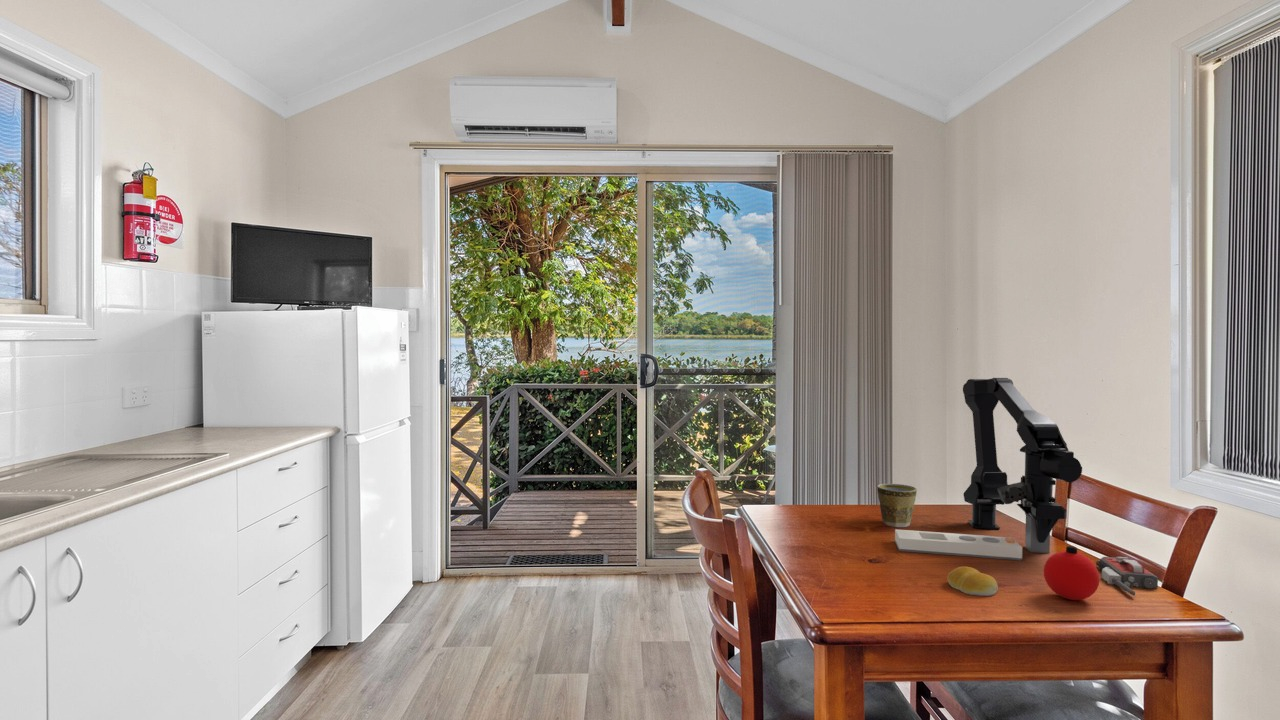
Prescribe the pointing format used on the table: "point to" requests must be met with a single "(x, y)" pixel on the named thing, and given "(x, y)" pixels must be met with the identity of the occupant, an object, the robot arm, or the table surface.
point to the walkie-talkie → (1126, 573)
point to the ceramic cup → (896, 503)
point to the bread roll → (972, 581)
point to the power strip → (958, 544)
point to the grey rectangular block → (1035, 537)
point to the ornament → (1071, 574)
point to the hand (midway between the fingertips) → (1037, 539)
